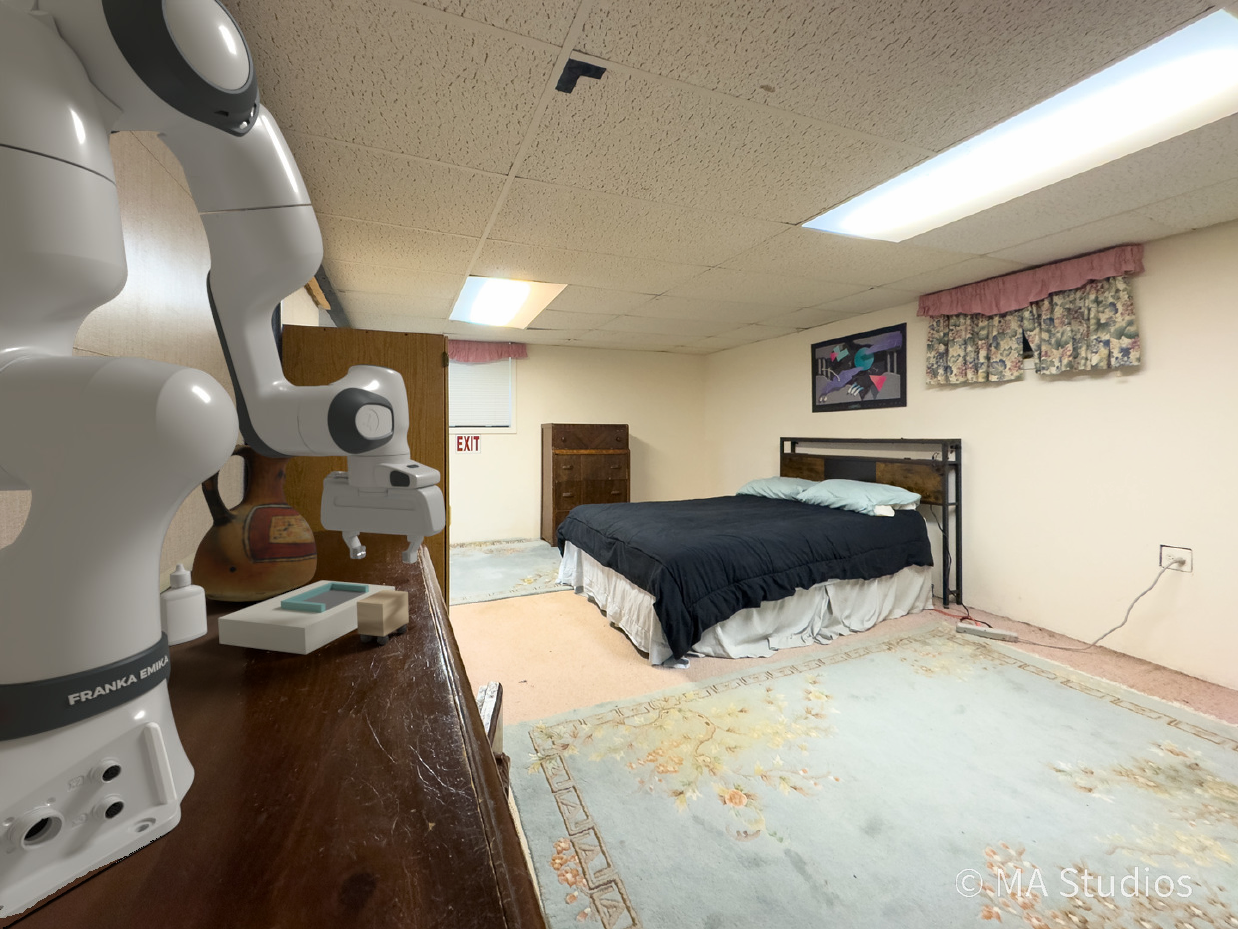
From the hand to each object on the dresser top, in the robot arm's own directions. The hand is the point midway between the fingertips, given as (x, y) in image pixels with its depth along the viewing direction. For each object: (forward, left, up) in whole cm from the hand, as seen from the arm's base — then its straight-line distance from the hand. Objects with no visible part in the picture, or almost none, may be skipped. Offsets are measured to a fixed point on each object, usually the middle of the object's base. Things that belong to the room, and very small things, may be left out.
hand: (383, 560), depth 81 cm
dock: (+1, +15, -12) cm, 19 cm away
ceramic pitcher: (+11, +38, -13) cm, 42 cm away
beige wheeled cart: (-1, 0, -12) cm, 12 cm away
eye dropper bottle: (-9, +30, -13) cm, 34 cm away
